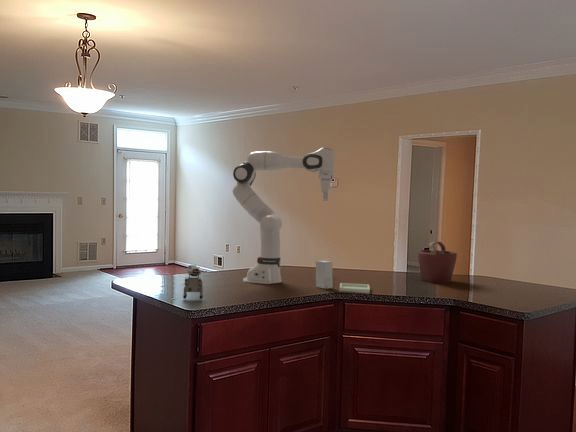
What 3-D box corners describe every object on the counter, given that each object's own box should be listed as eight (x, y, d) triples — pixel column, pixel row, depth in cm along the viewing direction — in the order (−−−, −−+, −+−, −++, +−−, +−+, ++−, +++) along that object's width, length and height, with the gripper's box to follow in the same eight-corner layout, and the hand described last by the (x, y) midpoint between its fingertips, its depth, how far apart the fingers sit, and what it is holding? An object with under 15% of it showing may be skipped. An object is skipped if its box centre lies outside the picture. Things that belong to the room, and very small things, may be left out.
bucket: (439, 286, 311) (441, 243, 310) (407, 280, 328) (409, 240, 327) (461, 282, 327) (463, 242, 326) (430, 277, 344) (432, 239, 343)
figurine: (203, 295, 261) (204, 264, 260) (201, 299, 249) (202, 268, 249) (185, 294, 260) (185, 264, 259) (182, 299, 249) (183, 267, 248)
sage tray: (339, 291, 282) (339, 287, 281) (340, 286, 297) (340, 282, 297) (369, 293, 280) (369, 289, 279) (368, 288, 295) (369, 284, 295)
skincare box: (332, 288, 292) (333, 261, 291) (323, 289, 288) (324, 262, 288) (323, 285, 299) (324, 259, 298) (314, 286, 295) (315, 260, 295)
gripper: (321, 177, 312) (320, 200, 312) (319, 175, 291) (318, 200, 292) (332, 177, 311) (331, 200, 312) (331, 176, 291) (330, 201, 291)
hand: (325, 200), depth 302 cm, fingers open, 8 cm apart
